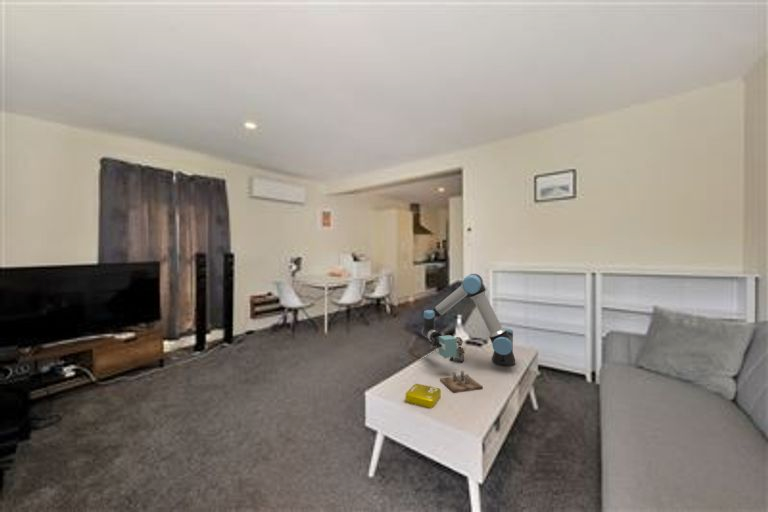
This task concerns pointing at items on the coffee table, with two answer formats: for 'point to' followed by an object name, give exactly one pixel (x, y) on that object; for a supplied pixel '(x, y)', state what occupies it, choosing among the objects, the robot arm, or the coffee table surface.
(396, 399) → the coffee table surface
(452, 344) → the teal block
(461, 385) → the peg board
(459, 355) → the figurine
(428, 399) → the element tile
